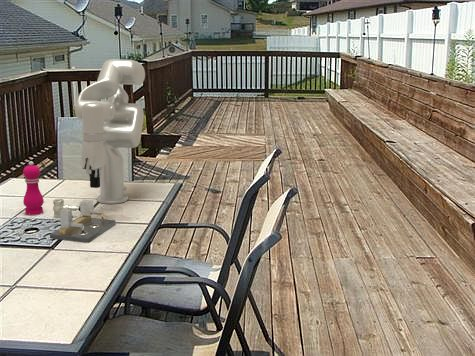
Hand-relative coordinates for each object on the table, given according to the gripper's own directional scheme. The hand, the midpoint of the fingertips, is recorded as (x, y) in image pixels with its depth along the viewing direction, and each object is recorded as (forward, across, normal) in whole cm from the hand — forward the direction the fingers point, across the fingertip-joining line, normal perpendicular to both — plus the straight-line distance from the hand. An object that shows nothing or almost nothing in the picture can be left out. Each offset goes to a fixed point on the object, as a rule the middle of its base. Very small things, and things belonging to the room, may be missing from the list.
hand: (95, 187), depth 211 cm
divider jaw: (+10, +6, +2) cm, 12 cm away
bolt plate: (+12, +14, +3) cm, 19 cm away
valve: (+12, +1, -10) cm, 16 cm away
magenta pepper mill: (+12, +1, -25) cm, 28 cm away
